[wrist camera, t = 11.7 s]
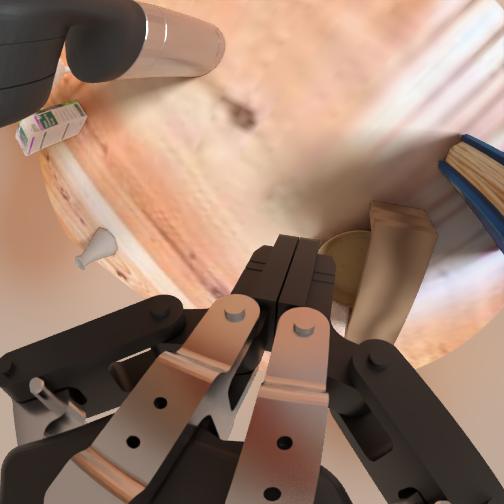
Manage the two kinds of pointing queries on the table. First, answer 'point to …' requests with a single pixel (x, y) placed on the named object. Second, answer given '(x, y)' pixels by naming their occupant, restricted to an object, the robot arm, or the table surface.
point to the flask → (98, 248)
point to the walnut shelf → (390, 272)
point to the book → (479, 181)
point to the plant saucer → (347, 263)
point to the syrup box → (50, 126)
